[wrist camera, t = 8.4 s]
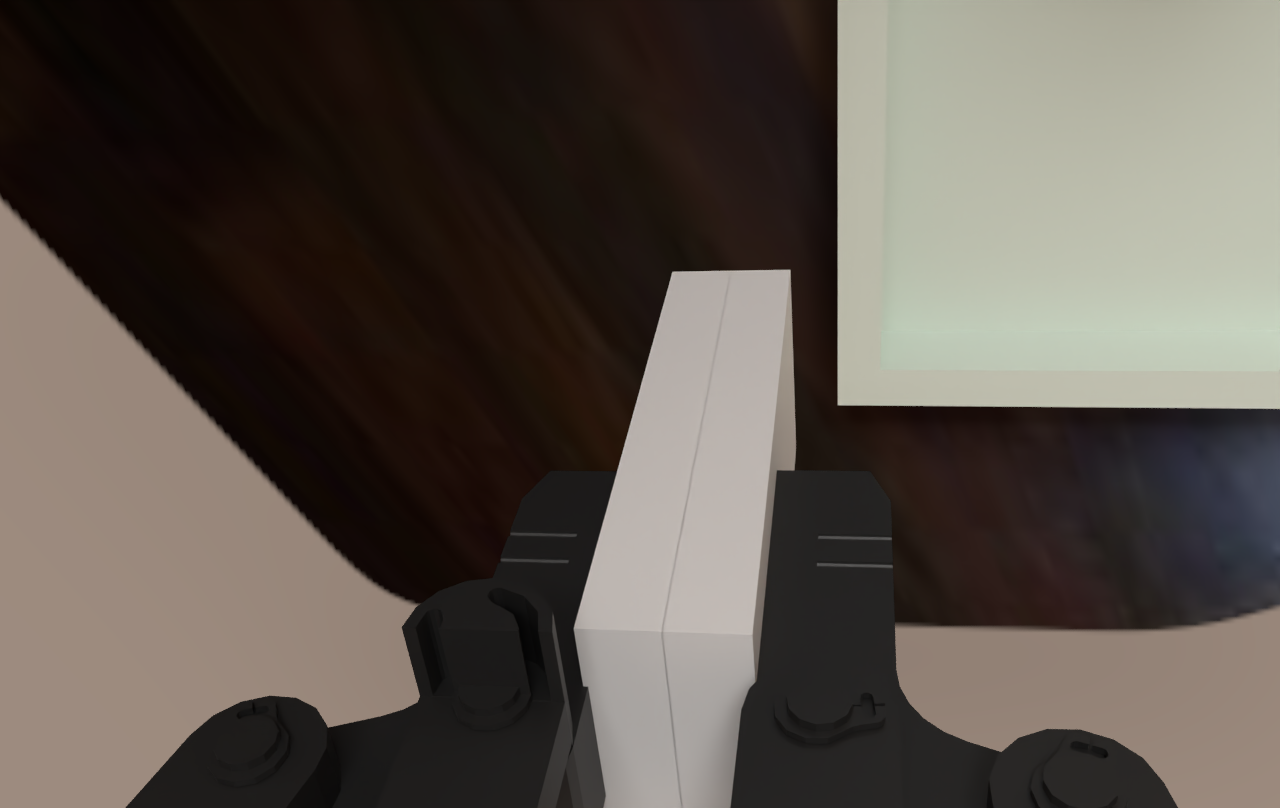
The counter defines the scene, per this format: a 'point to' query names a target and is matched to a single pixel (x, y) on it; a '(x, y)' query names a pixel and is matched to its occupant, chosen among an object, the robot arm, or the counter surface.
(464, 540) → the counter surface
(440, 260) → the counter surface
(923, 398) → the sliding tray
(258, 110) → the counter surface
